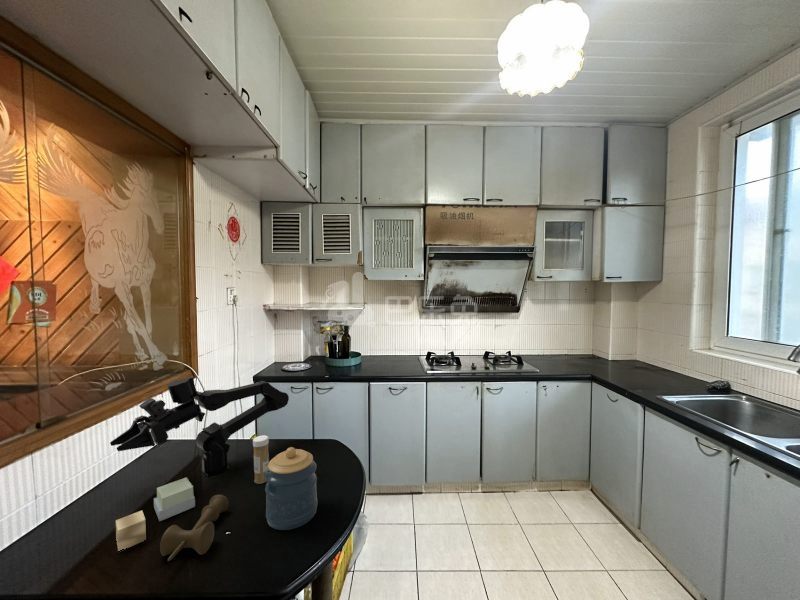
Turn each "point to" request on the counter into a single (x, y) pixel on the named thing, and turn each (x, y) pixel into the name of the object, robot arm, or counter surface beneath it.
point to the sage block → (174, 493)
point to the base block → (173, 508)
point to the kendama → (194, 530)
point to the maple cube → (130, 530)
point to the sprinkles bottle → (260, 458)
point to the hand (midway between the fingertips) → (113, 446)
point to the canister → (290, 489)
